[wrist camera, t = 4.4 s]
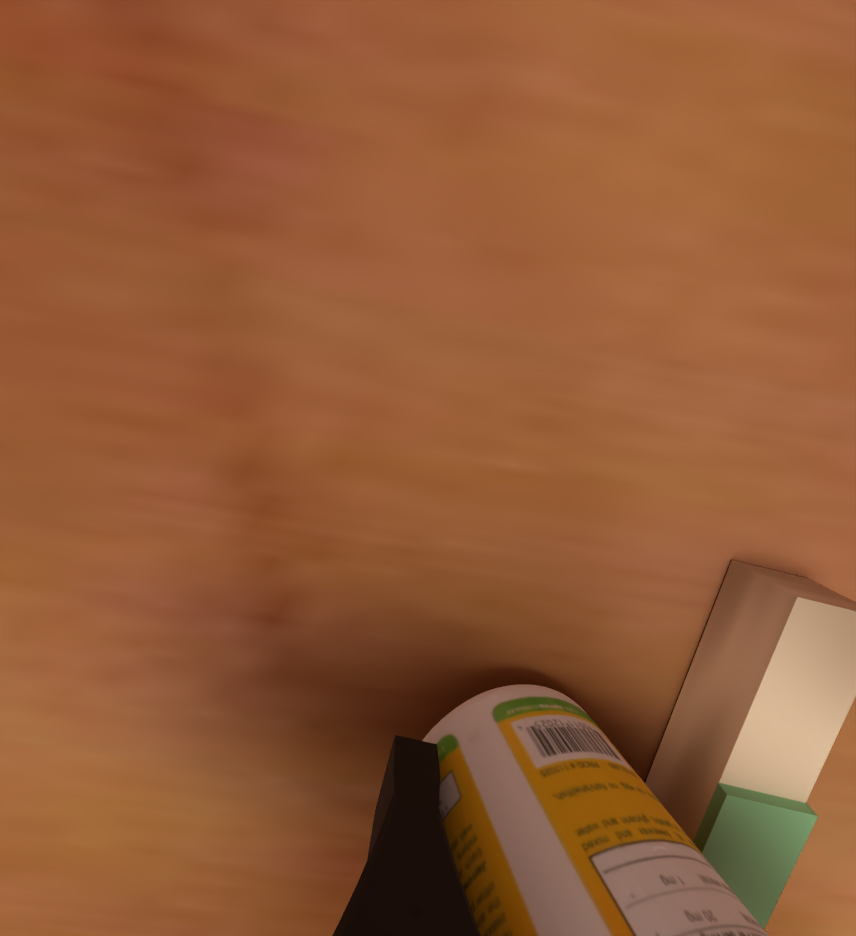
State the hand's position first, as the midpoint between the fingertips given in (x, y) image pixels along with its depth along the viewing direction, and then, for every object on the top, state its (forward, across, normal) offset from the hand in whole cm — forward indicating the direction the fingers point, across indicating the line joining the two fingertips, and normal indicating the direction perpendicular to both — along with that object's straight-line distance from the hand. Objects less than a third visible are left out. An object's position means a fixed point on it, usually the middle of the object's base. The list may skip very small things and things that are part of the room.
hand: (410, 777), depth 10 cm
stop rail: (+2, -8, +1) cm, 8 cm away
